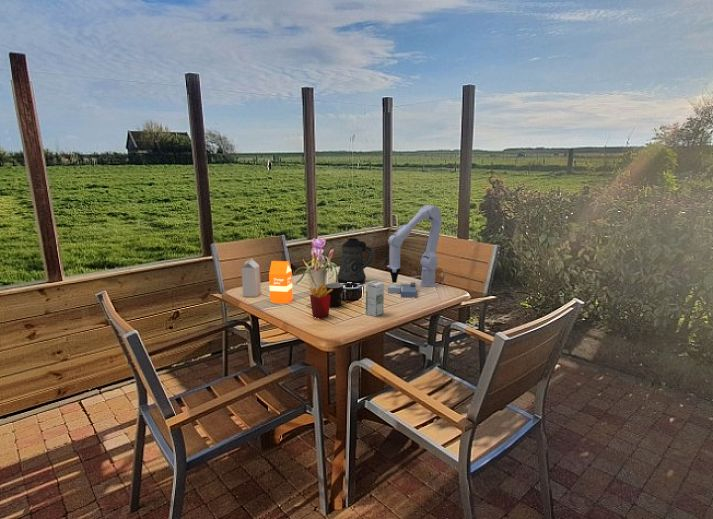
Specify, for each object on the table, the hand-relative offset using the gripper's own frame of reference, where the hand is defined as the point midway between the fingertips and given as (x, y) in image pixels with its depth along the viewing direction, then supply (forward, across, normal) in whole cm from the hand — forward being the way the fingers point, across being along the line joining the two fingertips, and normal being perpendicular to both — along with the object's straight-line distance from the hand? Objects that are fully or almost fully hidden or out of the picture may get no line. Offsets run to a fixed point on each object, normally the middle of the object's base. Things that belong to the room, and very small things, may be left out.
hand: (394, 282), depth 228 cm
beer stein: (+4, -12, -24) cm, 27 cm away
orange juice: (+4, +28, -54) cm, 61 cm away
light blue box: (+3, +7, 0) cm, 8 cm away
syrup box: (+4, +42, -8) cm, 43 cm away
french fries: (+4, +48, -30) cm, 57 cm away
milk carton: (+4, +20, -72) cm, 75 cm away
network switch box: (+3, +10, +8) cm, 13 cm away
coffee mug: (+4, +32, -26) cm, 41 cm away
